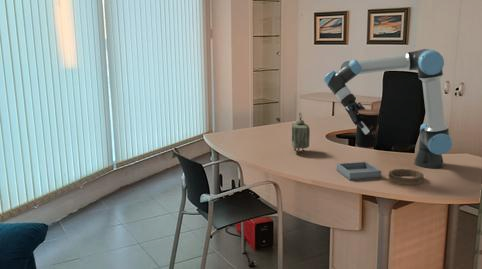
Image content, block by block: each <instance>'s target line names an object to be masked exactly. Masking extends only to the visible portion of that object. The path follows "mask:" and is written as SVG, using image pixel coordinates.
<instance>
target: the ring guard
mask: <svg viewBox="0 0 482 269" xmlns="http://www.w3.org/2000/svg"><path fill="white" fill-rule="evenodd" d="M400 176H408V177H400ZM410 176H411V178H410ZM388 180H389V181H391V182H393V183H395V184H399V185H406V184H407V185H406V186H408V185H410V186H412V185H415V184H416V185H420V184H422V183H424V173H423V172H421V171H418V170H414V169H410V168H409V169H408V168H394V169H391V170H389V171H388Z"/></svg>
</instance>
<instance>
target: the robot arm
mask: <svg viewBox="0 0 482 269" xmlns="http://www.w3.org/2000/svg"><path fill="white" fill-rule="evenodd" d="M444 66H445V59H444V57H443V55H442V54H441V53H440V52H439V51H437V50H434V49H427V48H423V49H419V50H415V51H409V52H405V53H404V54H399V55H391V56H384V57H383V56H382V57H375V58H374V57H373V58H367V59H358V60H357V59H351V61H350V60H345V61H344V62H342V64H341V65H340V69H339V70H338V71H337V72H336V71H335V70H331V71H330V72H328V73H327V74H326V75H325V76H324V78H323V82H324V83H325V85H326V86H327V87H328V88H329V89H330V91H331V93H333V95H334V96H335V97H336V99H337V100H338V101H339V102H340V104H341V105H342V106H343V107H344V109H345V111H346V112H347V114H348V116H349V118H350V120H351V122H352V123H353V125H355V126H357V124H358V126H359V127H360V128H361V130H362V131H363V132H364V133H365V135H366V134H367V133H369V132H370V131H369V129H368V128H367V127H366V125H365V124H364V123H363V122H362V121H361V120H360V118H359V115H358V110H361V109H366V107H364V106H363V105H362V104H361V102H356V100H357V97H356V96H355V95H354V94H353V93H352V91H351V90H350V89H349V87H348V86H347V85H346V84H347V83H348V82H350V81H351V80H352V79H354V78H355V77H357V76H358V75H362V74H363V75H364V74H373V73H374V74H375V73H380V72H389V71H399V70H407V71H417V75H418V79H419V80H421V82H422V83H421V84H422V91H423V92H422V93H423V100H424V110H425V117H426V118H425V120H426V123H422V124H421V125H420V128H419V139H418V140H419V142H418V150H417V153H416V156H415V158H414V161H413V162H414V165H416V166H418V167H421V168H427V169H438V168H442V167H444V158H443V156H442V155H445V154H447V153H448V152H449V151H450V150H452V147H453V140H452V137H451V136H450V132H449V126H448V125H447V124H446V123H445V121H446V120H445V114H444V106H443V95H442V94H443V93H442V84H441V78H442V77H443V76H444V73H443V68H444ZM379 128H380V127H379V126H378V129H379Z"/></svg>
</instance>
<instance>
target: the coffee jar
mask: <svg viewBox="0 0 482 269" xmlns="http://www.w3.org/2000/svg"><path fill="white" fill-rule="evenodd" d="M379 114H380V111H379V110H377V109H367V108H365V109H361V110H358V115H359V118H360V120H361V121H362V122H363V123H364V124H365V125H366V127H367V128H368V129H369V131H370V132H369V133H367V134H366V135H365V133H364V132H363V131H362V130H361V128H360V127H359V126H358V124H357V125H356V132H355V144H356V146H357V147H360V148H367V149H371V148H375V147H376V146H377V144H378V135H379V131H378V130H379V128H378V127H379V120H380V119H379V118H380V116H379Z"/></svg>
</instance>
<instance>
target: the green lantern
mask: <svg viewBox="0 0 482 269" xmlns="http://www.w3.org/2000/svg"><path fill="white" fill-rule="evenodd" d="M298 114H299V115H298V116H299V118H298V119H297V121H296V122H294V123H293V122H292V124H291V146H292V148H293V151H296V150H297V151H296V152H295V155H299V151H300V149H302V150H301V152H302V153H305V149H307V148H309V147H310V135H311V134H310V131H311V130H310V126H309V125H308V124H307V123H305V120H303V119H302V117H303V116H302V112H301V111H300V112H299V113H298Z"/></svg>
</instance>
